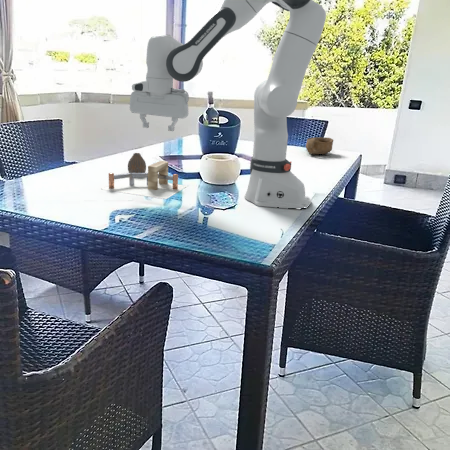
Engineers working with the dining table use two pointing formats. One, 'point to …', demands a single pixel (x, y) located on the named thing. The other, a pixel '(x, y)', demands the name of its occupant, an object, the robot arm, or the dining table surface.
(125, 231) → the dining table surface
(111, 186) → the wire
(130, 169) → the vase
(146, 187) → the board
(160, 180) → the wooden arch
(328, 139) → the bowl
